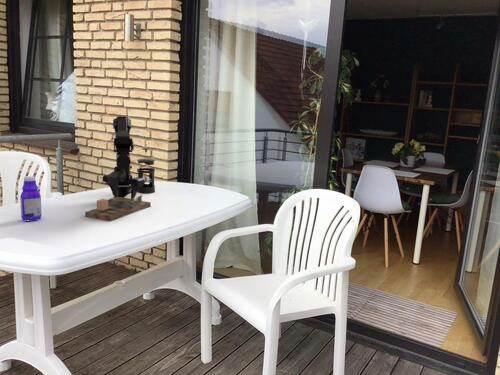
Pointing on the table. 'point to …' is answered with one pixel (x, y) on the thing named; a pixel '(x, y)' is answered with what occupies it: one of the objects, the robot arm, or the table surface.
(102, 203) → the peach tinted cube
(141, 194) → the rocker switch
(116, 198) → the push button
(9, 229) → the table surface
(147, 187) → the french press
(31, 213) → the bottle
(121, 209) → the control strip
